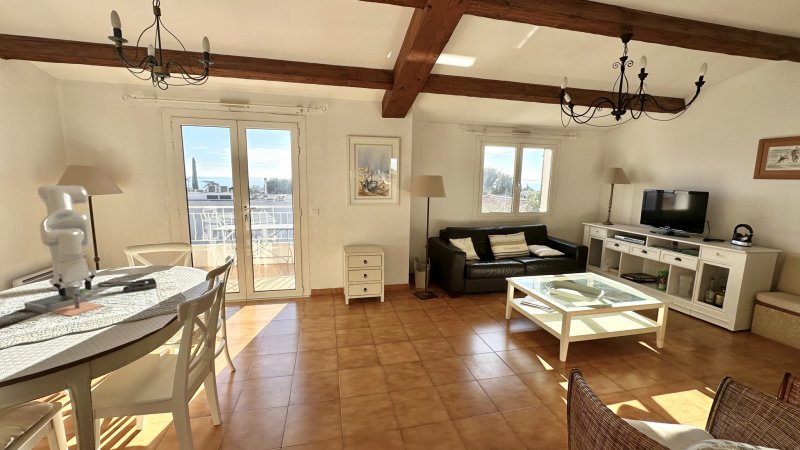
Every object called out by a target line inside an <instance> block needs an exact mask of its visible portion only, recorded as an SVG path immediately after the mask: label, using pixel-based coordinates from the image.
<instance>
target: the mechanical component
mask: <svg viewBox="0 0 800 450" xmlns="http://www.w3.org/2000/svg"><path fill="white" fill-rule="evenodd" d="M65 290H66V295H67V296H72V297H73V300H74V303H75V309H77V308H80V305H79V299H80V296H84V295H86V292H87V289H85V288H82V287H81V288H80V287H73V286H71V287H67V288H65Z"/></svg>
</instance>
